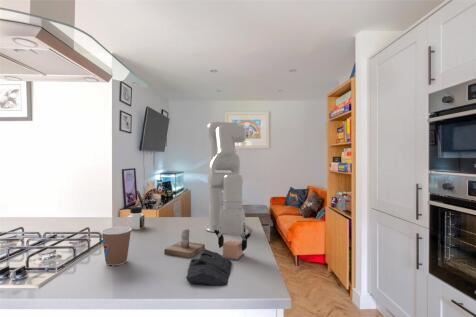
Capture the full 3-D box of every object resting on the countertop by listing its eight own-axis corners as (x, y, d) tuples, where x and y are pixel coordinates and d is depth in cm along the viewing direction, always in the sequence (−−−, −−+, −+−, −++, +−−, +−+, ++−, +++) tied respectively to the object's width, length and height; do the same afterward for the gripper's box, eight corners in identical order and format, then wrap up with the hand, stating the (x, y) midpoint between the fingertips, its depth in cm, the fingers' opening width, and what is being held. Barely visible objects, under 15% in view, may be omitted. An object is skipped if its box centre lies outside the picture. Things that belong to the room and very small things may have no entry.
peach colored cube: (222, 256, 105) (223, 243, 105) (229, 252, 111) (229, 239, 111) (237, 258, 103) (237, 245, 103) (242, 254, 108) (242, 241, 108)
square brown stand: (180, 245, 120) (180, 225, 120) (204, 248, 116) (204, 227, 116) (164, 254, 109) (164, 231, 109) (190, 258, 104) (190, 234, 104)
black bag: (177, 287, 81) (178, 271, 81) (192, 260, 103) (192, 248, 103) (228, 288, 80) (228, 272, 81) (232, 261, 102) (232, 248, 103)
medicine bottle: (139, 229, 148) (140, 207, 148) (126, 229, 148) (127, 207, 148) (144, 226, 155) (144, 205, 155) (132, 226, 155) (132, 205, 155)
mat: (227, 252, 112) (227, 251, 112) (244, 254, 109) (244, 253, 109) (220, 258, 104) (220, 257, 104) (237, 260, 102) (237, 259, 102)
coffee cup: (101, 259, 102) (102, 227, 102) (130, 256, 106) (131, 225, 106) (99, 269, 93) (100, 234, 93) (131, 265, 97) (132, 231, 97)
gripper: (208, 205, 107) (208, 248, 106) (250, 208, 100) (250, 254, 100) (217, 202, 114) (216, 243, 113) (256, 205, 107) (256, 248, 107)
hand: (232, 248), depth 107 cm, fingers open, 9 cm apart
